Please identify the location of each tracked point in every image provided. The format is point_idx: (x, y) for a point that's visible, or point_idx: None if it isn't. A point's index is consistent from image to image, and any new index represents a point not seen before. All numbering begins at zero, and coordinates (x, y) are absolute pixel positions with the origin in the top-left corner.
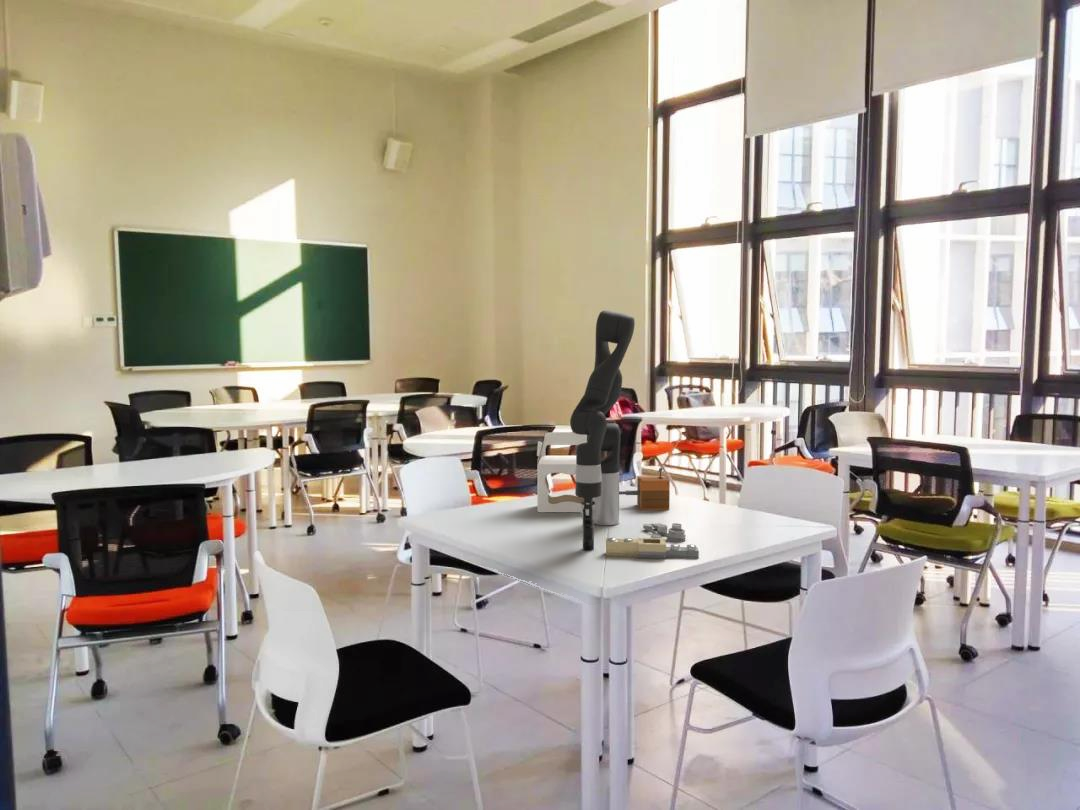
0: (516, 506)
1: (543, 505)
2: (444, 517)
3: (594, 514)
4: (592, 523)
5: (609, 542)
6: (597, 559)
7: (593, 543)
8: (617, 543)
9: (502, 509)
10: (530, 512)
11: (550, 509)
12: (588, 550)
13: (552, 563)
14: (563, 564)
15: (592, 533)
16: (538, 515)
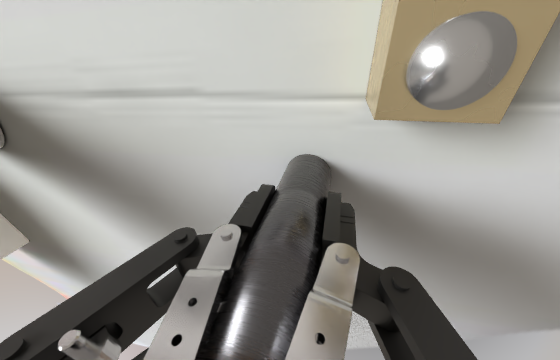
0: (25, 260)
1: (2, 244)
2: (144, 332)
3: (203, 283)
4: (304, 255)
5: (512, 91)
6: (519, 145)
7: (313, 169)
8: (552, 2)
9: (57, 277)
10: (38, 250)
11: (1, 228)
12: (330, 175)
13: (513, 295)
14: (552, 273)
15: (314, 205)
16: (44, 242)
